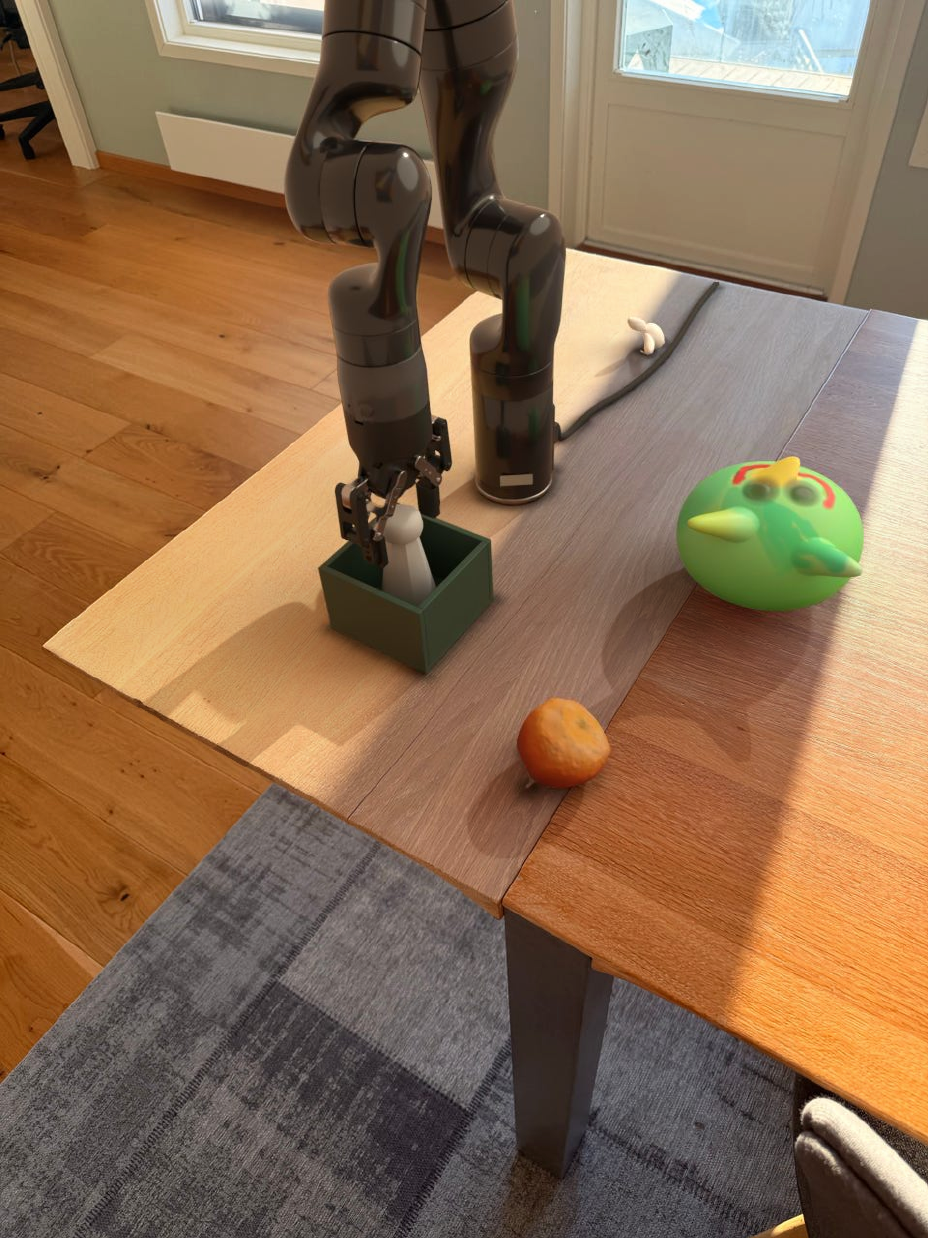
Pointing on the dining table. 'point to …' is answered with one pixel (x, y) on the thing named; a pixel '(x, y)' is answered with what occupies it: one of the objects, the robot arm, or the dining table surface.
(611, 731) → the dining table surface
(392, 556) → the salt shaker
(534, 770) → the fruit
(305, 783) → the dining table surface
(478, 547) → the bin
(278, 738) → the dining table surface
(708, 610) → the dining table surface
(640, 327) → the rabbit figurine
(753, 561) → the toy bird
